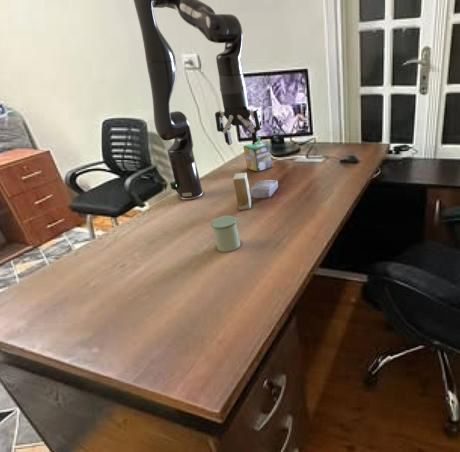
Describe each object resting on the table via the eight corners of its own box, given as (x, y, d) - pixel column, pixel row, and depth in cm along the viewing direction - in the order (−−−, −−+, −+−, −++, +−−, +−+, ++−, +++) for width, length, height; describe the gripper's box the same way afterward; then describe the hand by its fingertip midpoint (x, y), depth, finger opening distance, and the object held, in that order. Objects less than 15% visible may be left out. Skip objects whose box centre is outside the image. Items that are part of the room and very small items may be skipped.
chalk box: (261, 163, 176) (257, 134, 170) (272, 166, 171) (268, 136, 164) (246, 168, 171) (241, 138, 164) (257, 172, 165) (253, 141, 158)
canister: (211, 247, 106) (205, 223, 102) (230, 237, 111) (225, 213, 107) (226, 254, 102) (221, 229, 98) (246, 243, 107) (241, 219, 103)
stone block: (248, 202, 139) (271, 197, 136) (244, 190, 137) (267, 186, 134) (259, 191, 149) (280, 187, 146) (255, 180, 147) (277, 176, 144)
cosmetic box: (240, 203, 134) (234, 173, 128) (251, 202, 134) (246, 171, 129) (238, 210, 128) (232, 179, 123) (250, 209, 129) (244, 177, 123)
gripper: (259, 88, 108) (266, 140, 116) (216, 90, 110) (226, 141, 118) (252, 91, 101) (260, 146, 109) (206, 93, 104) (217, 147, 111)
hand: (242, 143), depth 113 cm, fingers open, 8 cm apart
